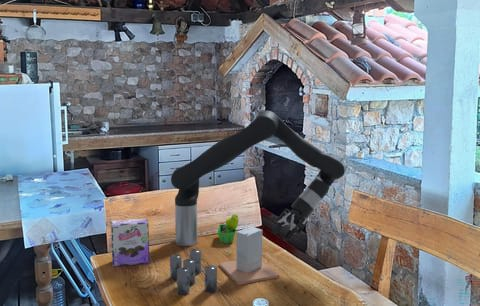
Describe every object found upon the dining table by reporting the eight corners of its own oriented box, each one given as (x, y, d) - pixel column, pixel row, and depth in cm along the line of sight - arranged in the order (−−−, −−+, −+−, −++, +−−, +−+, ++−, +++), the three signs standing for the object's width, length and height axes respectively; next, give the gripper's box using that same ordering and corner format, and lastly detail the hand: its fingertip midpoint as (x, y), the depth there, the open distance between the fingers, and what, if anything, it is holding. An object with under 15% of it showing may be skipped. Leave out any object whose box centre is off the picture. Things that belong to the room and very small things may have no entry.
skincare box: (251, 263, 181) (251, 225, 178) (262, 267, 177) (263, 229, 174) (235, 269, 175) (235, 230, 172) (247, 274, 171) (247, 234, 168)
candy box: (112, 267, 178) (110, 224, 176) (112, 261, 184) (110, 220, 181) (149, 263, 182) (148, 222, 179) (148, 257, 188) (147, 217, 185)
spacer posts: (164, 274, 172) (164, 253, 171) (199, 268, 178) (198, 248, 176) (181, 298, 154) (180, 275, 153) (218, 291, 159) (218, 269, 158)
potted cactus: (219, 235, 214) (219, 210, 212) (239, 235, 214) (239, 211, 212) (217, 244, 203) (217, 218, 201) (238, 244, 203) (238, 219, 201)
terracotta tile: (219, 265, 181) (219, 263, 181) (257, 259, 187) (257, 256, 187) (238, 285, 164) (238, 282, 164) (279, 277, 171) (279, 274, 171)
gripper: (291, 192, 186) (264, 224, 183) (310, 201, 173) (282, 236, 171) (302, 204, 189) (276, 235, 186) (322, 214, 176) (295, 248, 174)
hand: (279, 236), depth 179 cm, fingers open, 8 cm apart
